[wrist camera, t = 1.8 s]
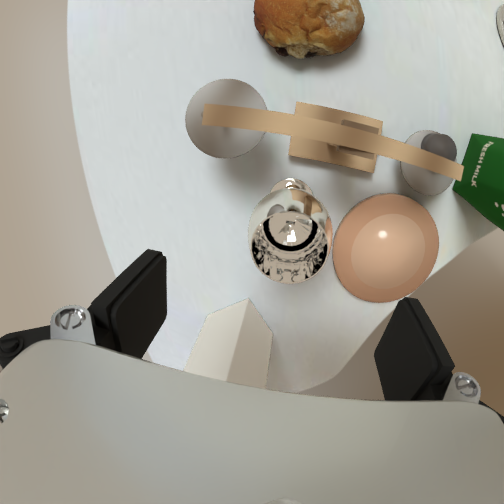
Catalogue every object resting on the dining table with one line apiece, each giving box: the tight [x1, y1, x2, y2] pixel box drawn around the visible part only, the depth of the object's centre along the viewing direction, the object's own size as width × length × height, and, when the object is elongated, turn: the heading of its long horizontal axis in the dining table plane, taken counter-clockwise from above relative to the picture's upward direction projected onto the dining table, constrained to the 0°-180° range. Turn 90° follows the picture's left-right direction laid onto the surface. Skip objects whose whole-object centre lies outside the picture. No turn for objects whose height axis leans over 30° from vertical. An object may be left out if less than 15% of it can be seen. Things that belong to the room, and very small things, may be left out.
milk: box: [183, 298, 273, 389], centre depth 25 cm, size 6×6×22 cm
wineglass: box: [248, 178, 333, 284], centre depth 22 cm, size 6×6×12 cm
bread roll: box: [253, 0, 365, 59], centre depth 18 cm, size 10×10×8 cm
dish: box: [332, 193, 439, 303], centre depth 28 cm, size 12×12×1 cm
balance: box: [185, 79, 464, 196], centre depth 19 cm, size 24×6×12 cm, turn 82°
